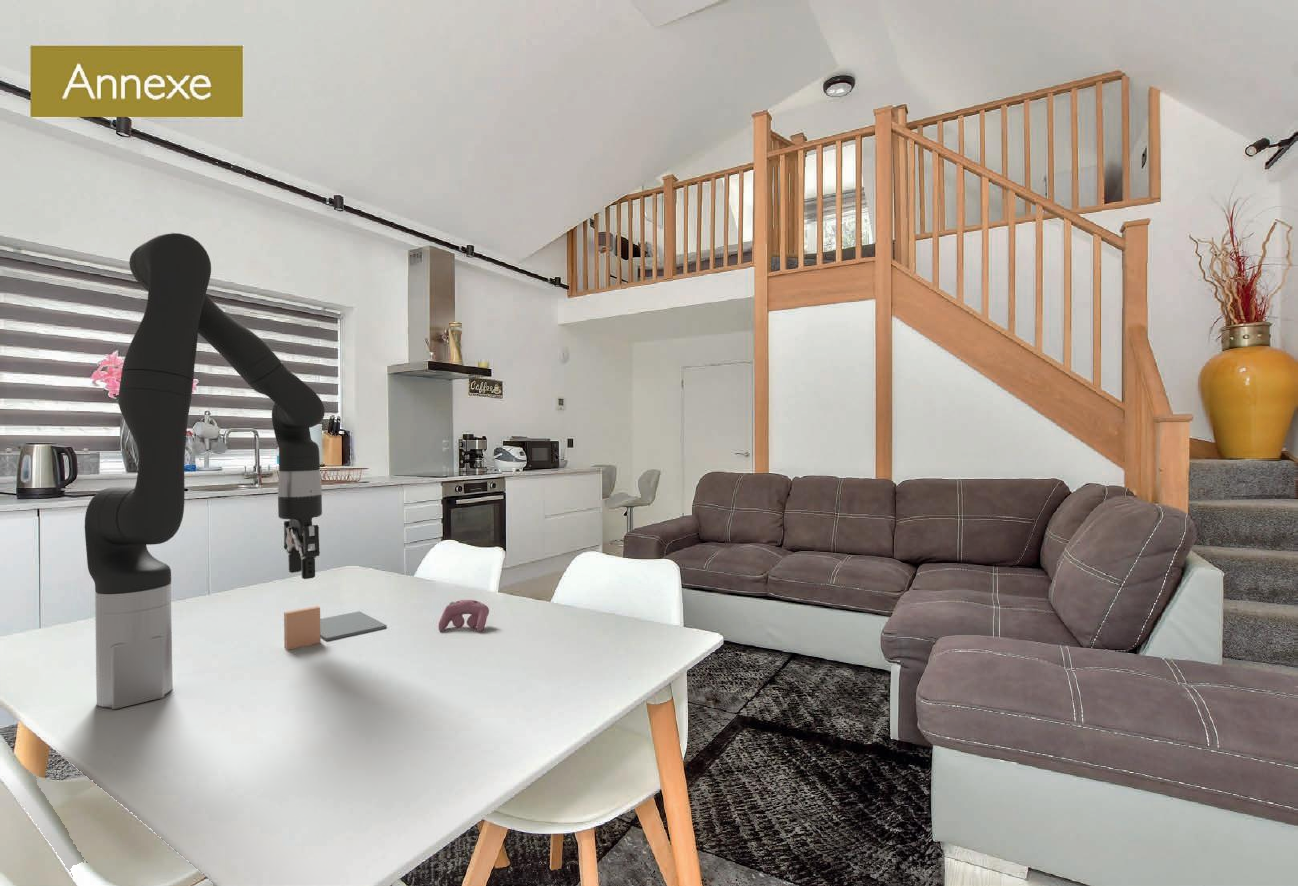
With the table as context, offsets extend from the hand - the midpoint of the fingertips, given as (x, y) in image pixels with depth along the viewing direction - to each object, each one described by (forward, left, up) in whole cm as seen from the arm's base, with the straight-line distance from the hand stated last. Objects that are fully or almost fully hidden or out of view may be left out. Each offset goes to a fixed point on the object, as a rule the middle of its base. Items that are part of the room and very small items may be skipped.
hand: (301, 575), depth 121 cm
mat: (+7, -10, -14) cm, 18 cm away
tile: (0, 0, -14) cm, 14 cm away
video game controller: (-14, -27, -14) cm, 34 cm away
